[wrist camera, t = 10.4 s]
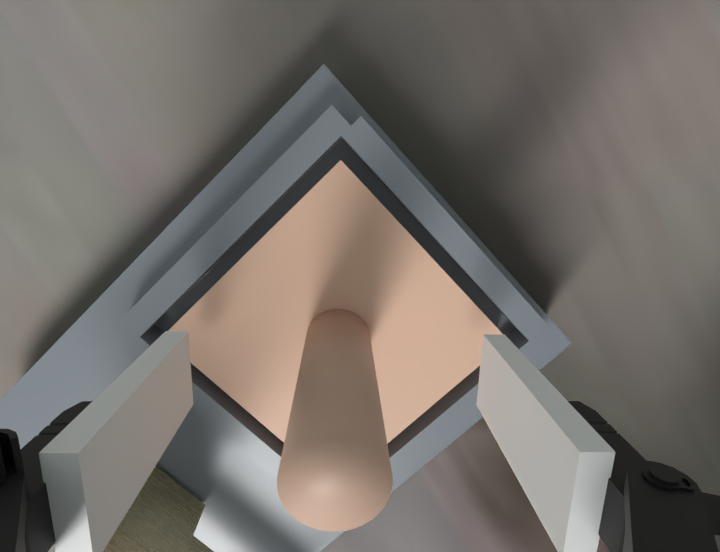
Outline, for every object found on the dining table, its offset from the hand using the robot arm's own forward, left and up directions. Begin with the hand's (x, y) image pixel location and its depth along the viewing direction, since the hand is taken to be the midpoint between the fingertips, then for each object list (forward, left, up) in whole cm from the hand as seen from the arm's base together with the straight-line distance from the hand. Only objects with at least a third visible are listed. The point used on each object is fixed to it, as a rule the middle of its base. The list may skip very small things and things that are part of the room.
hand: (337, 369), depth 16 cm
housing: (+4, 0, -7) cm, 8 cm away
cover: (0, 0, -4) cm, 4 cm away
